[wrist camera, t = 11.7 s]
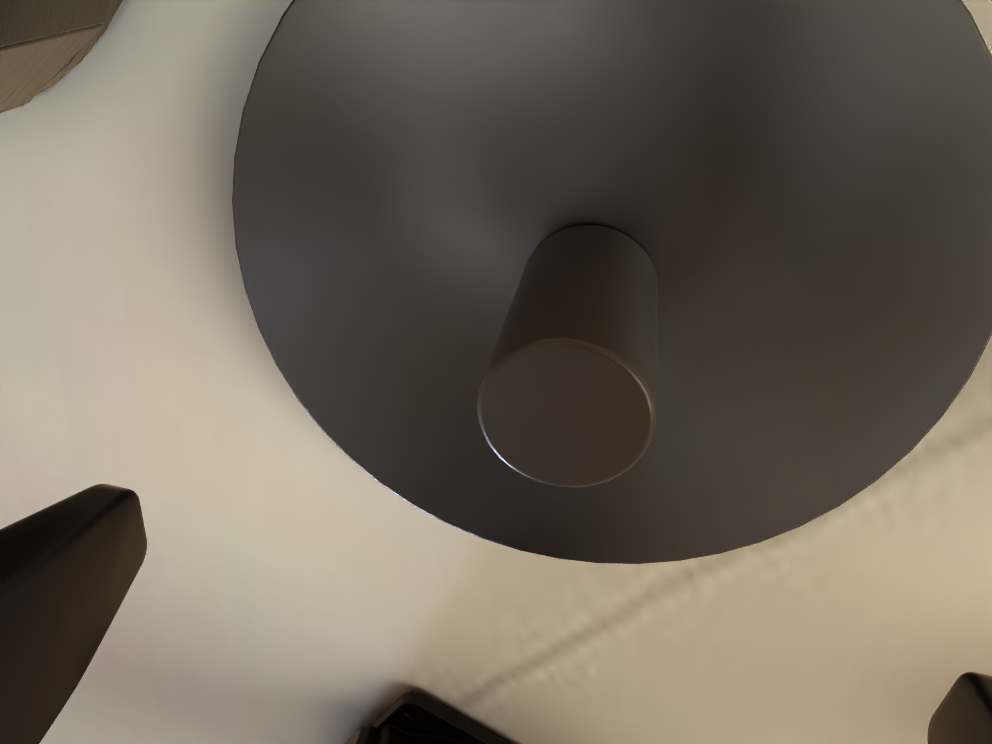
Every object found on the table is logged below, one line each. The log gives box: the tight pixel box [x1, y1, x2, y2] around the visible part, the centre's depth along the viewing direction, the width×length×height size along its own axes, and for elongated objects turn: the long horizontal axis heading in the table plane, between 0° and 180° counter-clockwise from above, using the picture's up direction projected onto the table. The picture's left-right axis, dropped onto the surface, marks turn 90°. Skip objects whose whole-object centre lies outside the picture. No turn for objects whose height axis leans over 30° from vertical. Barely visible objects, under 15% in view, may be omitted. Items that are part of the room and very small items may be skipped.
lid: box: [232, 0, 992, 564], centre depth 14 cm, size 15×15×6 cm
